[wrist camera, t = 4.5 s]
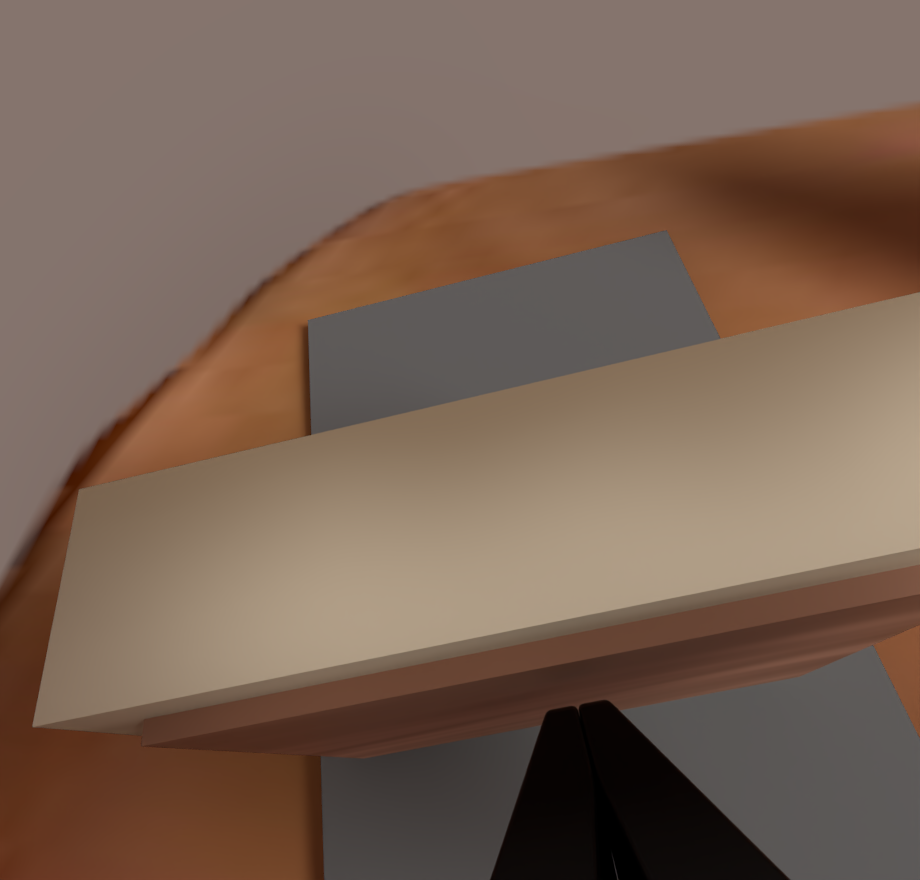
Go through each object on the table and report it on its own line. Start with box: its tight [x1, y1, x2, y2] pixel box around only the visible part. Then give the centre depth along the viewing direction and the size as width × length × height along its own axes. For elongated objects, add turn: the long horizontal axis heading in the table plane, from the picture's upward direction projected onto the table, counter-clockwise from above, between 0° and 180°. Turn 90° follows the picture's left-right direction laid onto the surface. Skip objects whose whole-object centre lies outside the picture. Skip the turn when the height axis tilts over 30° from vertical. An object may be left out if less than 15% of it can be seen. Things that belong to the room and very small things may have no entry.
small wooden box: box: [32, 292, 920, 758], centre depth 11 cm, size 3×12×10 cm, turn 99°
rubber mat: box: [308, 230, 920, 880], centre depth 17 cm, size 22×14×1 cm, turn 9°
